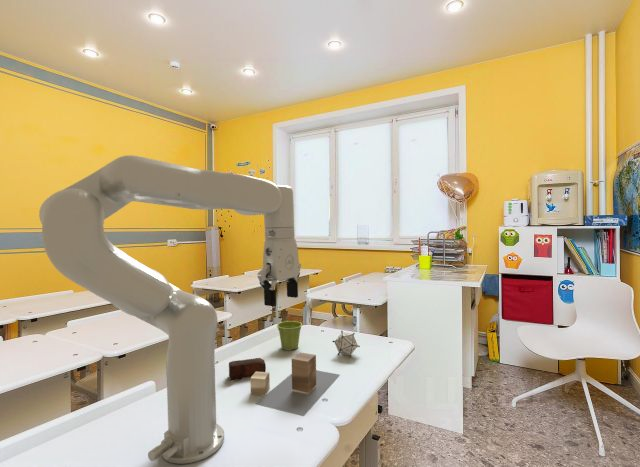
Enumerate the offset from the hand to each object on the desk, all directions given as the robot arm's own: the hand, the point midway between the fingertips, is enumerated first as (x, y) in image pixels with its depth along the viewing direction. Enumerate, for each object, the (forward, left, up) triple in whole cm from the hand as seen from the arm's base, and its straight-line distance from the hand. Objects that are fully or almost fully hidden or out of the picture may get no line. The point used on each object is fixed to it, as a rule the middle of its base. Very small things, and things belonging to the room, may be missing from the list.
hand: (281, 301), depth 88 cm
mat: (+8, -1, -27) cm, 28 cm away
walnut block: (+8, -2, -26) cm, 27 cm away
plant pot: (+35, +18, -27) cm, 48 cm away
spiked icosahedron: (+36, -4, -27) cm, 45 cm away
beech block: (+2, +9, -27) cm, 28 cm away
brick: (+9, +18, -27) cm, 34 cm away
